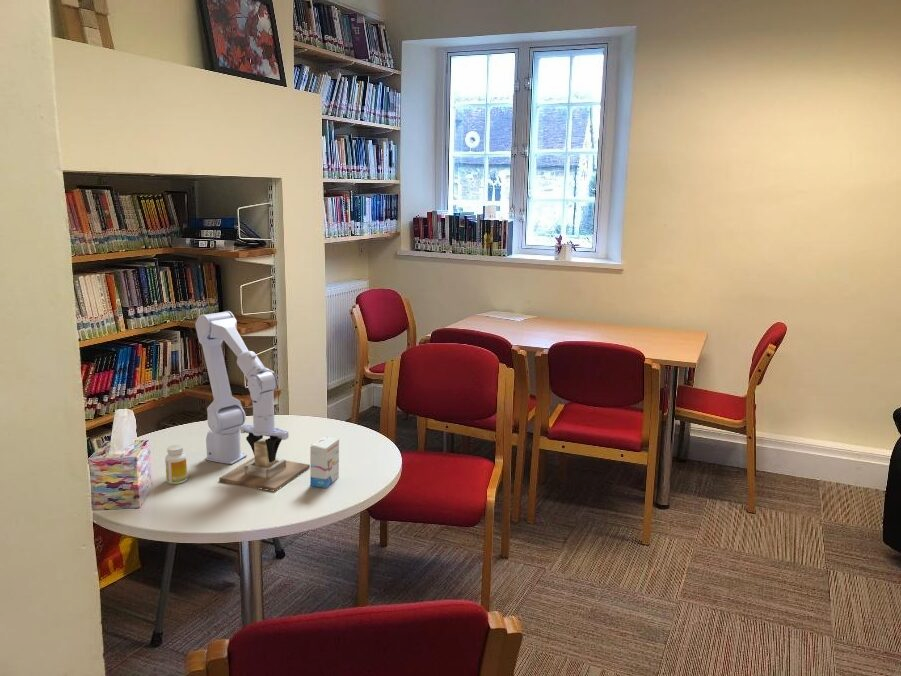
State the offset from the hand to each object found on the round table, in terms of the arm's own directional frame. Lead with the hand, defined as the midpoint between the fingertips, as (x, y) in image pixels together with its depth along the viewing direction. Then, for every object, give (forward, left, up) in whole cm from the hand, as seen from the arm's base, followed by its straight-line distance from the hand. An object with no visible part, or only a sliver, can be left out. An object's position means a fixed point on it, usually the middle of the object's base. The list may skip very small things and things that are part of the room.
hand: (265, 459), depth 208 cm
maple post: (0, 0, -2) cm, 3 cm away
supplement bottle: (-20, -13, -5) cm, 24 cm away
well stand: (0, 0, -4) cm, 4 cm away
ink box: (+18, +2, -5) cm, 19 cm away
